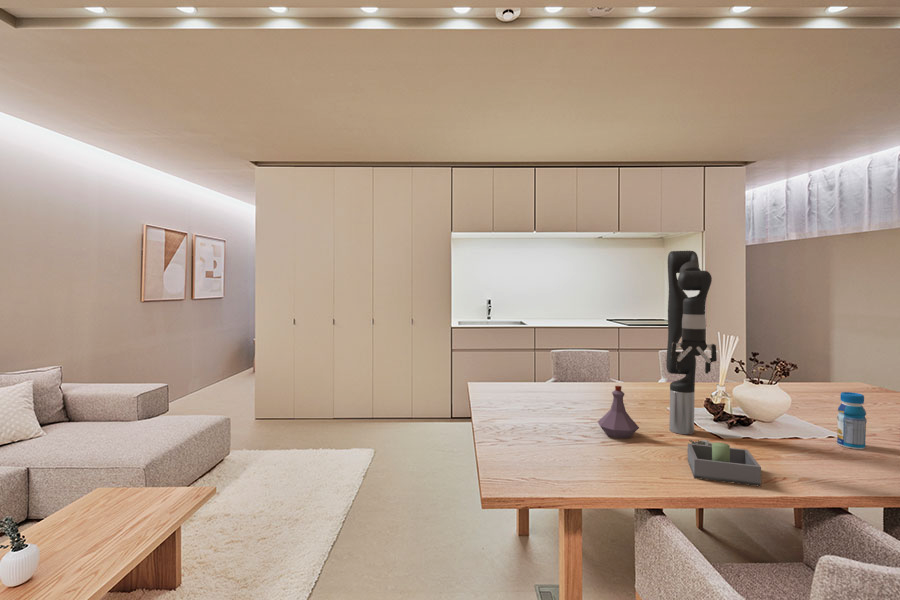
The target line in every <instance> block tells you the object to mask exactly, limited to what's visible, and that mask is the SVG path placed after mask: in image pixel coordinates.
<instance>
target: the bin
mask: <svg viewBox="0 0 900 600" xmlns="http://www.w3.org/2000/svg"><path fill="white" fill-rule="evenodd" d="M687 463H688V465H689V468H690V470H691V474H692V473H693V474H692V476H693V478H694V479H696V478H702V479H701V480H704V479H708V480H707V481H712V480H716V481H715V482H720V481H725V482H724V483H728V482H734V483H733V484H735V483H740V484H739V485H743V484H749V485H748V486H751V485H758V486H757V487H759V486H762V466H761V465H760V464H759V463H758V461H757V459H755V457H754V456H753V455H752V453H751V452H750V450H749V449H745V448H736V447H730V462H721V461H712V446H708V445H699V444H691V443H689V442H688V443H687Z"/></svg>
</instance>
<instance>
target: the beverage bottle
mask: <svg viewBox="0 0 900 600" xmlns="http://www.w3.org/2000/svg"><path fill="white" fill-rule="evenodd" d="M840 402H841V403H840V405H839V406H838V409H837V412H838V414H837V415H836V419H837V438H836V439H837V440H836V444H837V445H839V446H841V447H842V446H843V447H842V448H847V449H850V448H852V450H865V449H866V438H867V436H866V435H867V434H866V432H867V431H866V430H867V418H866V416H867V411H866V409H865V407H864V406H863V405H864V403H865V396H864V394H862V393H858V392H852V391H851V392H849V391H843V392H841V393H840Z"/></svg>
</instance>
